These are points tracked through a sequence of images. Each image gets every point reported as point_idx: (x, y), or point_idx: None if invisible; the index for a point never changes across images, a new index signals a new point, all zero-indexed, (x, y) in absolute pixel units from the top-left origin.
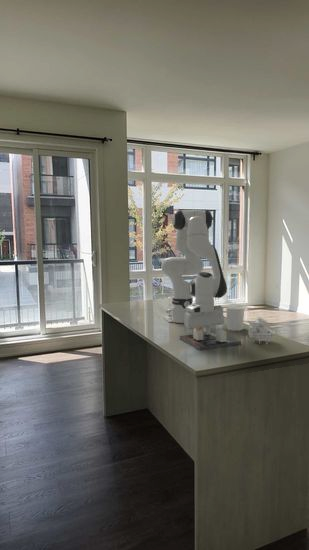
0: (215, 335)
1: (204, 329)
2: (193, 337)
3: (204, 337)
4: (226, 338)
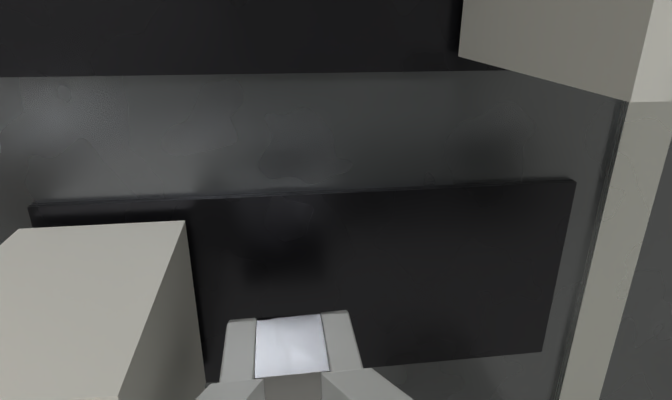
0: (657, 146)
1: (539, 31)
2: (10, 244)
3: (342, 206)
4: (665, 361)
